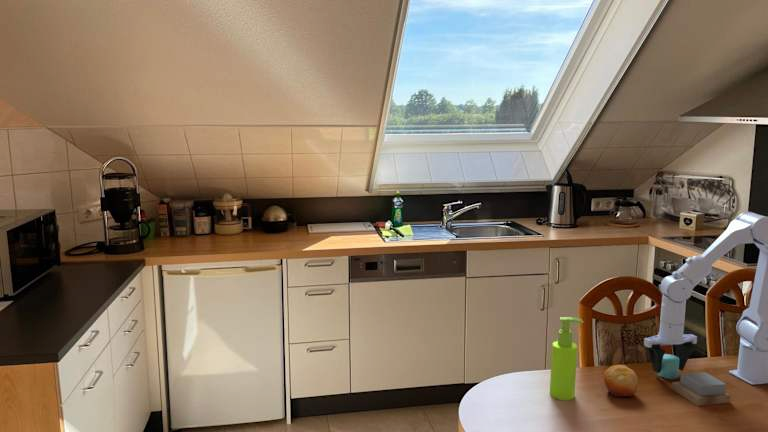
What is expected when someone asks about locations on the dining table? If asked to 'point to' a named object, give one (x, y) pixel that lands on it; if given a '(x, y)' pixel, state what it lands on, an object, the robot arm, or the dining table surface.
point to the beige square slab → (699, 399)
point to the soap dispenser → (564, 362)
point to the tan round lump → (621, 380)
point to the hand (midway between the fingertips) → (668, 370)
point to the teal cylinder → (669, 367)
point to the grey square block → (702, 384)
